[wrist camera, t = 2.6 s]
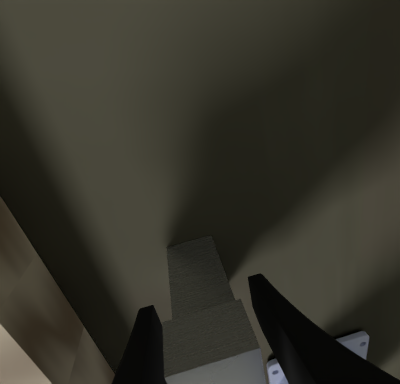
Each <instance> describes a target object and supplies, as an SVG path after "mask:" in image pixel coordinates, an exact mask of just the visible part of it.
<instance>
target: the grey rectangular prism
mask: <svg viewBox="0 0 400 384" xmlns="http://www.w3.org/2000/svg"><path fill="white" fill-rule="evenodd" d="M167 259H168V272H169V284H170V296H171V309H172V320H168V321H165V322H162V328H163V354H164V378H165V380H166V382H167V384H266V381H265V374H264V368H263V362H262V356H261V350H260V346H259V344H258V341H257V339H256V336H255V334H254V331H253V329H252V326H251V324H250V321H249V318H248V316H247V313H246V311H245V308H244V306H243V303H242V301H241V299H239V300H235V298H234V295H233V292H232V290H231V287H230V284H229V281H228V279H227V276H226V273H225V271H224V268H223V265H222V263H221V260H220V257H219V255H218V252H217V249H216V247H215V244H214V241H213V239H212V236H211V235H209V236H205V237H202V238H198V239H195V240H191V241H188V242H184V243H180V244H177V245H173V246H170V247H167Z"/></svg>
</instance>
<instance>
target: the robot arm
mask: <svg viewBox="0 0 400 384" xmlns="http://www.w3.org/2000/svg"><path fill="white" fill-rule="evenodd" d="M248 281H249V287H250V293H251V300H252V306H253V309H254V311H255V314H256V317H257V319H258V322H259V324H260V327H261V329H262V331H263V333H264V335H265V337H266V339H267V341H268V343H269V345H270V347H271V349H272V351H273V353H274V355H275V357H276V358H275V359H272V360H270V361H269V362H268V363H267V372H268V379H269V384H400V380H399V379H397V378H395V377H393V376H392V375H390V374H388V373H386V372H385V371H383V370H381V369H380V368H378V367H377V366H375V365H373V364H372V363H370V362H369V361H367V360H366V356H367V349H368V343H369V335H368V334H367V333H366V332H365V331H360V332H357V333H354V334H351V335H347V336H344V337H341V338H338V339H334V338H333V337H331V336H330V335H329V334H327V333H326V332H325V331H323V330H322V329H321V328H319V327H318V326H317V325H316V324H314V323H313V322H312V321H311V320H309V319H308V318H307V317H306V316H305V315H303V314H302V313H301V312H300V311H299V310H298V309H297V308H295V307H294V306H293V305H292V304H291V303H290V302H289V301H288V300H287V299H286V298H285V297H283V296H282V295H281V294H280V293H279V292H278V291H277V290H276V289H275V288H274V287H273V286H272V285H271V283H270V282H269V281H268V280H267V279H266V278H265V277H264V276H263V275H262V274H256V275H253V276H250V277H248ZM111 384H167V382H166V380H165V378H164V354H163V328H162V324H161V322H160V320H159V317H158V315H157V313H156V310H155V308H154V306H153V305H151V306H148V307H144V308H141V309H140V310H139V311H138V314H137V318H136V321H135V324H134V327H133V330H132V333H131V336H130V339H129V341H128V344H127V347H126V349H125V352H124V355H123V357H122V360H121V362H120V365H119V367H118V369H117V372H116V374H115V376H114V379H113V381H112V383H111Z"/></svg>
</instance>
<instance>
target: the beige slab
mask: <svg viewBox="0 0 400 384" xmlns="http://www.w3.org/2000/svg"><path fill="white" fill-rule="evenodd" d="M114 376H115V374H114V372H113V371H112V369H111V368H110V366H109V364H108V363H107V361H106V360H105V358H104V357H103V355H102V354H101V352H100V350H99V349H98V347H97V346H96V344H95V343H94V341H93V339H92V338H91V336H90V335H89V333H88V332H87V330H86V329H85V327H84V325H83V324H82V322H81V321H80V319H79V318H78V316H77V315H76V313H75V311H74V310H73V308H72V307H71V305H70V304H69V302H68V301H67V299H66V297H65V296H64V294H63V293H62V291H61V290H60V288H59V286H58V285H57V283H56V282H55V280H54V279H53V277H52V276H51V274H50V272H49V271H48V269H47V268H46V266H45V265H44V263H43V262H42V260H41V258H40V257H39V255H38V254H37V252H36V251H35V249H34V248H33V246H32V244H31V243H30V241H29V240H28V238H27V237H26V235H25V233H24V232H23V230H22V229H21V227H20V226H19V224H18V223H17V221H16V219H15V218H14V216H13V215H12V213H11V212H10V210H9V209H8V207H7V205H6V204H5V202H4V201H3V199H2V198H1V196H0V384H111V383H112V381H113V379H114Z"/></svg>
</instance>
